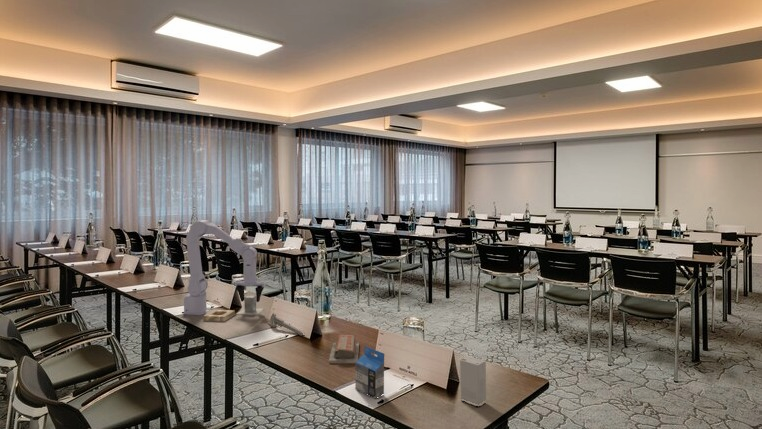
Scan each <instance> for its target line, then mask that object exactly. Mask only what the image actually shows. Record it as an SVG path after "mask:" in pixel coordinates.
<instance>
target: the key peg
mask: <svg viewBox="0 0 762 429" xmlns="http://www.w3.org/2000/svg"><path fill="white" fill-rule="evenodd" d="M243 302H244V304H243V305H244V308H245V312H250V313H253V312H254V311H256V308H257V302H256V295H246V296H244V301H243Z"/></svg>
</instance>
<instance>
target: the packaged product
mask: <svg viewBox="0 0 762 429" xmlns="http://www.w3.org/2000/svg"><path fill="white" fill-rule="evenodd" d="M337 336H338V337H337V339H336V341H333V342H332V345H331V348H330V349H331V350H330V354H329V359H328V364H355V362H356V361H357V360H358V359H359V351H360V350H359V349H360V342H356V336H355V335H353V334H338V335H337Z"/></svg>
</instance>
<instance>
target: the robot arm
mask: <svg viewBox="0 0 762 429" xmlns="http://www.w3.org/2000/svg"><path fill="white" fill-rule="evenodd" d="M204 235H214V236H215V237H216V238H218V239H219V240H222V241H223V242H225V243H227V245H228V247H229V249H231V250H232V251H233V252H235V253H236V254H238V255H240V256H241V258H242V260H243V281H241V280H239V281H238V280H237V281H234V287H235V290H236V291H237V293H238V296H239V298H240V302H244V298H245V289H246V287H255V296H256V303H259V302H260V301H261V296H262V293H263V291H264V289H265V287H267V286H266V284H267V282H265V281H257V258H256V257H257V255H258V251H257V249H256V247H254V246H251V245H250V244H247V243H245V242H244V241H242V238H238V237H232V236H231V235H229V233H227V232H226V231H225V230H223V229H221V228H220V227H219V226H218V225H217V224H216V223H214V222H211V221H210V220H208V219H202V220H197V221H195V222H194V223H192V224H191V225H190V226H189V231H188V232H187V235H186V237H185V240H186V243H185V244H186V249H187V256H188V257H187V258H188V266H189V274H190V276H189V279H188V286H187V292H188V294H186V295H185V296H184V298H183V315H196V316H200V315H201V316H202V315H203V316H204V314H205V315H206V314H207V313H209V312H211V309H207V308H208V307H207V292H206V291H207V289H208V287H209V286H208V281H207V280H206V277H205V274H204V273H203V266H202V260H201V258H202V257H201V249H200V239H202V237H203V236H204Z"/></svg>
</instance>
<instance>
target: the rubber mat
mask: <svg viewBox="0 0 762 429" xmlns="http://www.w3.org/2000/svg"><path fill="white" fill-rule="evenodd" d="M264 310H265V308H261V307H260V308H257V307H256V311H254V312H253V313H250V312H245V307H243V309H241V310H240V311H238V312H235V315H250V316H256V315H259V314H260V313H261V312H263V311H264Z"/></svg>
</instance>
